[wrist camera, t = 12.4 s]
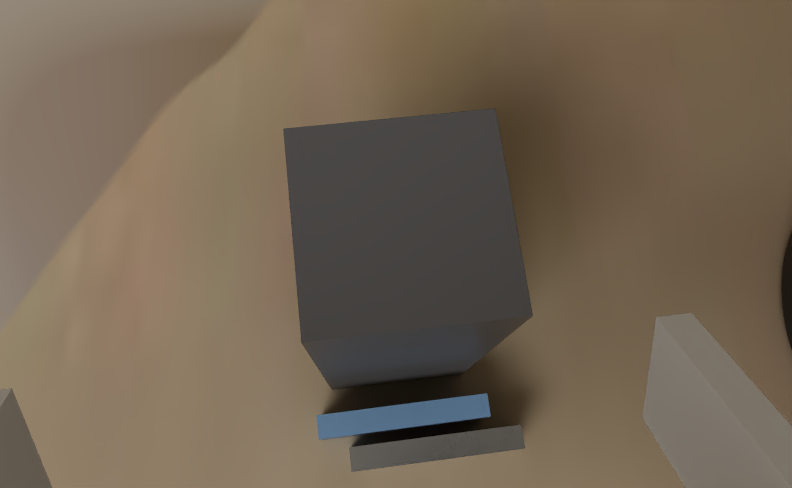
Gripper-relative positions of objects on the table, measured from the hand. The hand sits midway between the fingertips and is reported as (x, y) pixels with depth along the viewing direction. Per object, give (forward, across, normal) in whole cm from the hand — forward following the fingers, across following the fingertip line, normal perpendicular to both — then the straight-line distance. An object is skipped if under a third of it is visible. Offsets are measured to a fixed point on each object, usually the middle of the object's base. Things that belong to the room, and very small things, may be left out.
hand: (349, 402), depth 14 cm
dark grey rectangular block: (+11, +2, -6) cm, 13 cm away
